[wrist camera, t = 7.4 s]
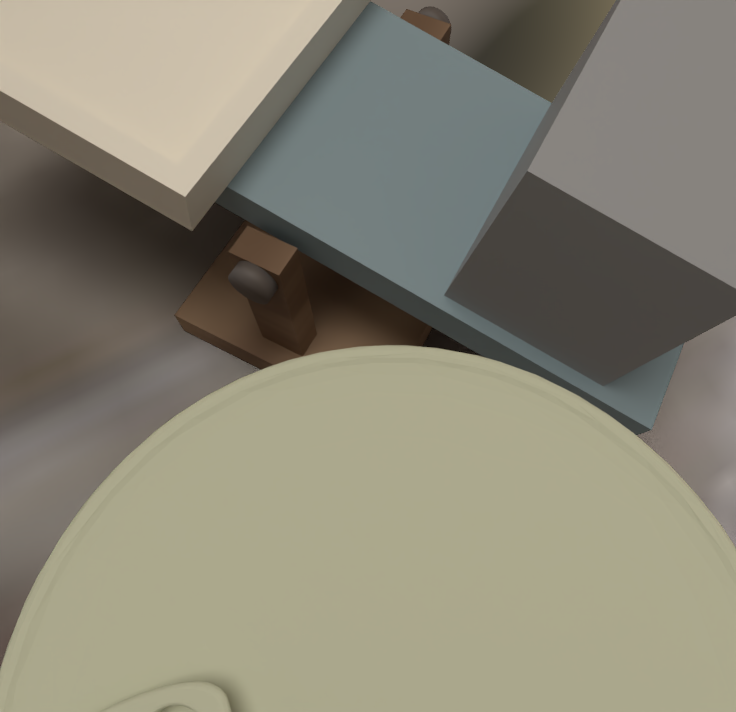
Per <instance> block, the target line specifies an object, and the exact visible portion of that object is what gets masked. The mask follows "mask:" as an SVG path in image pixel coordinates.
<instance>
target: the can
mask: <svg viewBox="0 0 736 712" xmlns="http://www.w3.org/2000/svg"><path fill="white" fill-rule="evenodd" d="M0 712H736V547H735V546H734V544H733V543H732V541H731V539H730V538H729V536H728V535H727V533H726V532H725V530H724V529H723V527H722V526H721V525H720V523H719V522H718V521H717V519H716V518H715V517H714V516H713V514H712V513H711V512H710V511H709V509H708V508H707V507H706V505H705V504H704V503H703V502H702V500H701V499H700V498H699V497H698V495H697V494H696V493H695V492H694V491H693V490H692V489H691V488H690V487H689V485H688V484H687V483H686V482H685V481H684V480H683V479H682V478H681V477H680V476H679V475H678V474H677V472H676V471H675V470H674V469H673V468H672V467H671V466H670V465H669V464H668V463H667V462H666V461H665V460H663V459H662V458H661V457H660V456H659V455H658V454H657V453H656V452H655V451H653V450H652V449H651V448H650V447H649V446H648V445H647V444H646V443H644V442H643V441H642V440H641V439H640V438H639V437H638V436H637V435H635V434H634V433H633V432H631V431H630V430H629V429H627V428H626V427H625V426H623V425H622V424H621V423H619V422H618V421H616V420H615V419H614V418H612V417H611V416H610V415H608V414H607V413H605V412H604V411H602V410H600V409H599V408H597V407H596V406H594V405H592V404H591V403H589V402H588V401H586V400H584V399H583V398H581V397H580V396H578V395H576V394H574V393H572V392H570V391H568V390H566V389H564V388H562V387H560V386H558V385H556V384H554V383H552V382H550V381H548V380H546V379H544V378H542V377H540V376H538V375H536V374H533V373H530V372H527V371H524V370H522V369H519V368H516V367H513V366H511V365H508V364H505V363H502V362H499V361H496V360H492V359H489V358H485V357H482V356H478V355H473V354H467V353H462V352H456V351H451V350H445V349H440V348H431V347H419V346H408V345H380V346H361V347H352V348H346V349H339V350H332V351H326V352H319V353H315V354H311V355H307V356H303V357H299V358H295V359H291V360H287V361H284V362H282V363H279V364H276V365H273V366H270V367H267V368H264V369H262V370H259V371H257V372H255V373H252V374H250V375H247V376H245V377H242V378H240V379H238V380H236V381H234V382H232V383H230V384H228V385H226V386H224V387H222V388H221V389H219V390H217V391H215V392H213V393H211V394H209V395H207V396H206V397H204V398H203V399H201V400H199V401H198V402H196V403H195V404H193V405H192V406H190V407H188V408H187V409H185V410H184V411H182V412H181V413H179V414H177V415H176V416H175V417H173V418H172V419H171V420H169V421H168V422H167V423H165V424H164V425H163V426H161V427H160V428H159V429H157V430H156V431H155V432H154V433H153V434H152V435H151V436H149V437H148V438H147V439H146V440H145V441H144V442H143V443H142V444H140V445H139V446H138V447H137V448H136V449H135V450H134V451H133V452H132V453H131V454H129V455H128V456H127V457H126V458H125V459H124V460H123V461H122V462H121V463H120V464H119V465H118V466H117V467H116V468H115V469H114V470H113V471H112V472H111V473H110V475H109V476H108V477H107V478H106V479H105V480H104V481H103V482H102V484H101V485H100V486H99V487H98V488H97V489H96V490H95V491H94V493H93V494H92V495H91V496H90V497H89V499H88V500H87V501H86V502H85V504H84V505H83V506H82V508H81V509H80V510H79V512H78V513H77V515H76V516H75V518H74V519H73V520H72V522H71V523H70V525H69V526H68V528H67V529H66V531H65V532H64V533H63V535H62V536H61V538H60V540H59V541H58V543H57V545H56V546H55V548H54V550H53V551H52V553H51V555H50V556H49V558H48V560H47V562H46V563H45V565H44V567H43V568H42V570H41V572H40V573H39V575H38V577H37V579H36V581H35V583H34V585H33V587H32V589H31V591H30V593H29V595H28V597H27V599H26V601H25V603H24V606H23V608H22V611H21V613H20V616H19V618H18V621H17V624H16V626H15V629H14V631H13V634H12V636H11V639H10V641H9V644H8V646H7V649H6V653H5V656H4V659H3V662H2V665H1V668H0Z"/></svg>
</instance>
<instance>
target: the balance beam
mask: <svg viewBox="0 0 736 712" xmlns="http://www.w3.org/2000/svg"><path fill="white" fill-rule="evenodd" d="M0 121H1V122H3V123H5V124H7V125H8V126H10V127H12V128H14V129H15V130H17V131H19V132H21V133H22V134H24V135H26V136H28V137H29V138H31V139H33V140H34V141H36V142H38V143H40V144H41V145H43V146H45V147H47V148H48V149H50V150H52V151H54V152H55V153H57V154H59V155H61V156H62V157H64V158H66V159H67V160H69V161H71V162H73V163H74V164H76V165H78V166H80V167H81V168H83V169H85V170H87V171H88V172H90V173H92V174H94V175H95V176H97V177H99V178H100V179H102V180H104V181H106V182H107V183H109V184H111V185H113V186H114V187H116V188H118V189H120V190H121V191H123V192H125V193H127V194H128V195H130V196H132V197H134V198H135V199H137V200H139V201H140V202H142V203H144V204H146V205H147V206H149V207H151V208H153V209H154V210H156V211H158V212H160V213H161V214H163V215H165V216H167V217H168V218H170V219H172V220H173V221H175V222H177V223H179V224H180V225H182V226H184V227H186V228H187V229H189V230H191V231H193V230H194V228H195V227H196V226H197V224H198V223H199V222H200V221H201V219H202V218H203V217H204V215H205V214H206V213H207V212H208V210H209V209H210V208H211V206H212V205H213V204H214V202H215V203H217V204H219V205H220V206H222V207H224V208H225V209H227V210H229V211H231V212H232V213H234V214H236V215H238V216H239V217H241V218H243V219H245V220H246V221H248V222H250V223H252V224H253V225H255V226H257V227H259V228H260V229H262V230H264V231H266V232H267V233H269V234H271V235H273V236H274V237H276V238H278V239H279V240H281V241H283V242H285V243H288V244H290V245H292V246H294V247H296V248H298V250H299V251H300V252H302V253H304V254H306V255H307V256H309V257H311V258H313V259H314V260H316V261H318V262H320V263H321V264H323V265H325V266H327V267H328V268H330V269H332V270H333V271H335V272H337V273H339V274H340V275H342V276H344V277H346V278H347V279H349V280H351V281H353V282H354V283H356V284H358V285H360V286H361V287H363V288H365V289H367V290H368V291H370V292H372V293H374V294H375V295H377V296H379V297H381V298H382V299H384V300H386V301H388V302H389V303H391V304H393V305H394V306H396V307H398V308H400V309H401V310H403V311H405V312H407V313H408V314H410V315H412V316H414V317H415V318H417V319H419V320H421V321H422V322H424V323H426V324H428V325H429V326H431V327H433V328H435V329H436V330H438V331H440V332H442V333H443V334H445V335H447V336H448V337H450V338H452V339H454V340H455V341H457V342H459V343H461V344H462V345H464V346H466V347H468V348H469V349H471V350H473V351H475V352H476V353H478V354H480V355H482V356H483V357H485V358H489V359H492V360H496V361H499V362H502V363H505V364H508V365H511V366H513V367H516V368H519V369H522V370H524V371H527V372H530V373H533V374H536V375H538V376H540V377H542V378H544V379H546V380H548V381H550V382H552V383H554V384H556V385H558V386H560V387H562V388H564V389H566V390H568V391H570V392H572V393H574V394H576V395H578V396H580V397H581V398H583V399H584V400H586V401H588V402H589V403H591V404H592V405H594V406H596V407H597V408H599V409H600V410H602V411H604V412H605V413H607V414H608V415H610V416H611V417H612V418H614V419H615V420H616V421H618V422H619V423H621V424H622V425H623V426H625V427H626V428H627V429H629V430H630V431H631V432H633V433H634V434H635V435H638V434H641V433H644V432H647V431H650V430H652V427H653V424H654V422H655V419H656V416H657V414H658V411H659V408H660V406H661V403H662V400H663V398H664V395H665V392H666V390H667V387H668V384H669V382H670V379H671V376H672V374H673V371H674V368H675V366H676V363H677V360H678V358H679V355H680V352H681V350H682V347H683V344H684V343H685V342H687V341H689V340H691V339H693V338H694V337H696V336H698V335H700V334H702V333H704V332H706V331H708V330H709V329H711V328H713V327H715V326H717V325H719V324H721V323H723V322H724V321H726V320H728V319H730V318H732V317H734V316H736V0H616V1H615V3H614V5H613V6H612V8H611V10H610V11H609V13H608V14H607V16H606V17H605V19H604V21H603V22H602V24H601V25H600V27H599V29H598V30H597V32H596V33H595V35H594V37H593V38H592V40H591V41H590V43H589V45H588V46H587V48H586V49H585V51H584V53H583V54H582V56H581V57H580V59H579V61H578V62H577V64H576V65H575V67H574V69H573V70H572V72H571V73H570V75H569V77H568V78H567V80H566V81H565V83H564V85H563V86H562V88H561V90H560V91H559V93H558V94H557V96H556V97H555V99H554V101H553V102H552V103H550V102H549V101H547V100H545V99H543V98H541V97H540V96H538V95H536V94H534V93H533V92H531V91H529V90H527V89H525V88H524V87H522V86H520V85H518V84H516V83H515V82H513V81H511V80H509V79H508V78H506V77H504V76H502V75H501V74H499V73H497V72H495V71H493V70H492V69H490V68H488V67H486V66H485V65H483V64H481V63H479V62H477V61H476V60H474V59H472V58H470V57H469V56H467V55H465V54H463V53H461V52H459V51H458V50H456V49H454V48H453V47H451V46H449V45H447V44H445V43H444V42H442V41H440V40H438V39H437V38H435V37H433V36H431V35H429V34H428V33H426V32H424V31H422V30H421V29H419V28H417V27H415V26H413V25H412V24H410V23H408V22H406V21H405V20H403V19H401V18H399V17H397V16H396V15H394V14H392V13H390V12H388V11H387V10H385V9H383V8H381V7H380V6H378V5H376V4H374V3H373V2H371V0H0Z"/></svg>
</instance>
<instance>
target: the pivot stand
mask: <svg viewBox="0 0 736 712" xmlns="http://www.w3.org/2000/svg"><path fill="white" fill-rule="evenodd" d="M401 19H403V20H405V21H406V22H408V23H410V24H412V25H413V26H415V27H417V28H419V29H421V30H422V31H424V32H426V33H428V34H429V35H431V36H433V37H435V38H437V39H438V40H440V41H442V42H444V43H445V44H447V45H449V41H450V34H451V23H450V21H449V19H448V17H447V16H446V15H445V13H443V12H442V11H441V10H439V9H438V8H435V7H425V8H423V9H421V10H420V11H419V13H417V12H414V11H411V10H408V9H406V11H405V12H404V13H403V15H402V16H401ZM175 317H176V318H177V320H178V321H179V323H180V324H181V326H182V327H183V329H184V330H185V331H186V332H188V333H190V334H192V335H194V336H196V337H198V338H200V339H202V340H204V341H206V342H208V343H210V344H212V345H214V346H216V347H218V348H220V349H222V350H224V351H226V352H228V353H230V354H232V355H234V356H236V357H238V358H240V359H242V360H244V361H246V362H248V363H250V364H252V365H254V366H255V367H257V368H259V369H261V370H262V369H264V368H267V367H270V366H273V365H276V364H279V363H282V362H284V361H287V360H291V359H295V358H299V357H303V356H307V355H311V354H315V353H319V352H326V351H332V350H339V349H346V348H352V347H361V346H380V345H408V346H419V347H422V346H423V344H424V342H425V340H426V339H427V337H428V335H429V333H430V331H431V330H432V328H433V327H431V326H429V325H428V324H426V323H424V322H422V321H421V320H419V319H417V318H415V317H414V316H412V315H410V314H408V313H407V312H405V311H403V310H401V309H400V308H398V307H396V306H394V305H393V304H391V303H389V302H388V301H386V300H384V299H382V298H381V297H379V296H377V295H375V294H374V293H372V292H370V291H368V290H367V289H365V288H363V287H361V286H360V285H358V284H356V283H354V282H353V281H351V280H349V279H347V278H346V277H344V276H342V275H340V274H339V273H337V272H335V271H333V270H332V269H330V268H328V267H327V266H325V265H323V264H321V263H320V262H318V261H316V260H314V259H313V258H311V257H309V256H307V255H306V254H304V253H302V252H300V251H299V250H298V248H296V247H294V246H292V245H290V244H288V243H285V242H283V241H281V240H279V239H278V238H276V237H274V236H273V235H271V234H269V233H267V232H266V231H264V230H262V229H260V228H259V227H257V226H255V225H253V224H252V223H250V222H248V221H246V220H245V221H244V222H243V223H242V225H241V226H240V227H239V229H238V230H237V231H236V233H235V234H234V235H233V237H232V238H231V239H230V241H229V242H228V243H227V245H226V246H225V248H224V249H223V250H222V252H221V253H220V254H219V256H218V257H217V258H216V260H215V261H214V262H213V264H212V265H211V266H210V268H209V269H208V270H207V272H206V273H205V275H204V276H203V277H202V279H201V280H200V281H199V283H198V284H197V285H196V287H195V288H194V289H193V291H192V292H191V293H190V295H189V296H188V298H187V299H186V300H185V302H184V303H183V304H182V306H181V307H180V308H179V310H178V311H177V312H176V314H175Z"/></svg>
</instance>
